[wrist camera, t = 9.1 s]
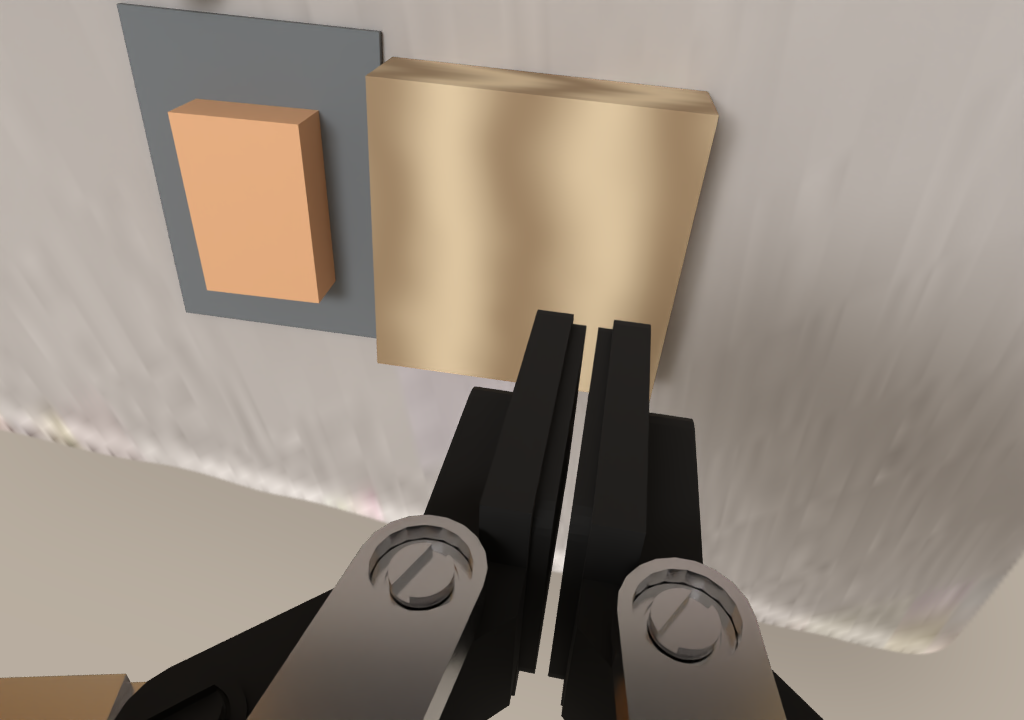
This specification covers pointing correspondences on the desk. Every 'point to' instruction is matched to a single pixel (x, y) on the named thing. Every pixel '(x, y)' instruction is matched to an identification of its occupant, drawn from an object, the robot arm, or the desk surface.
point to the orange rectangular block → (256, 197)
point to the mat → (275, 82)
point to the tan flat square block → (525, 209)
